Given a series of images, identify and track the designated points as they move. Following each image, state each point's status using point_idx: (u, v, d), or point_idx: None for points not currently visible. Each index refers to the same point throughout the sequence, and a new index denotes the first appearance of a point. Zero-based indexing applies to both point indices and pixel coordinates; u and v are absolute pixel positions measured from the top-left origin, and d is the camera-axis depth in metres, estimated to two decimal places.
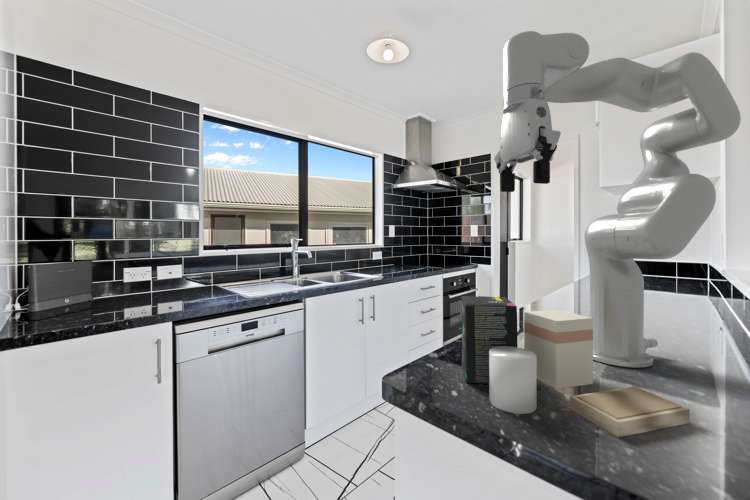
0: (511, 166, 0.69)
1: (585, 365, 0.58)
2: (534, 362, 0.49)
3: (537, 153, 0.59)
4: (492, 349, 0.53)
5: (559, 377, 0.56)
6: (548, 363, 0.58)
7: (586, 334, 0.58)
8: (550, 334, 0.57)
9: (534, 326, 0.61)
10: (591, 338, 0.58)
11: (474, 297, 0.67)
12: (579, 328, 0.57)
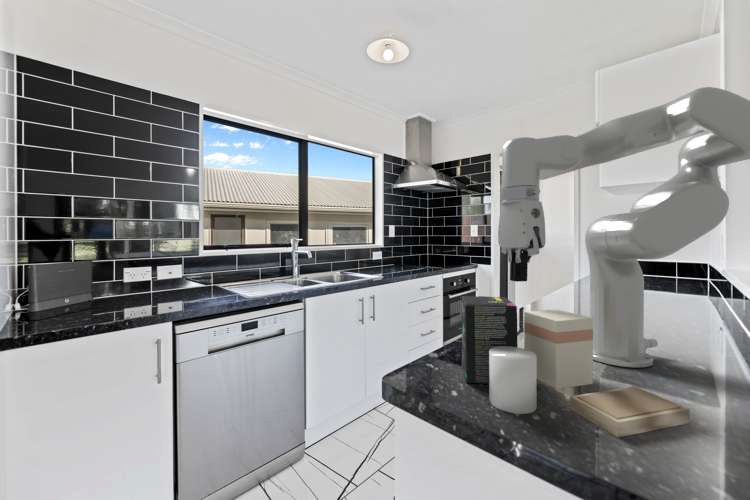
0: None
1: (585, 365, 0.58)
2: (534, 362, 0.49)
3: (518, 257, 0.68)
4: (492, 349, 0.53)
5: (559, 377, 0.56)
6: (548, 362, 0.58)
7: (585, 334, 0.58)
8: (550, 334, 0.57)
9: (534, 326, 0.61)
10: (591, 338, 0.58)
11: (474, 297, 0.67)
12: (579, 328, 0.57)
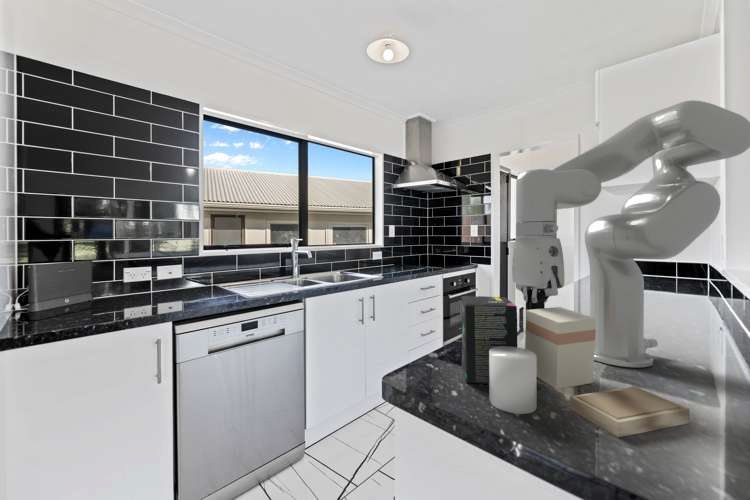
0: None
1: (586, 365, 0.57)
2: (534, 362, 0.49)
3: (535, 297, 0.64)
4: (492, 349, 0.53)
5: (559, 377, 0.56)
6: (549, 363, 0.58)
7: (588, 335, 0.57)
8: (552, 335, 0.56)
9: (535, 326, 0.60)
10: (593, 338, 0.57)
11: (474, 297, 0.67)
12: (582, 329, 0.56)
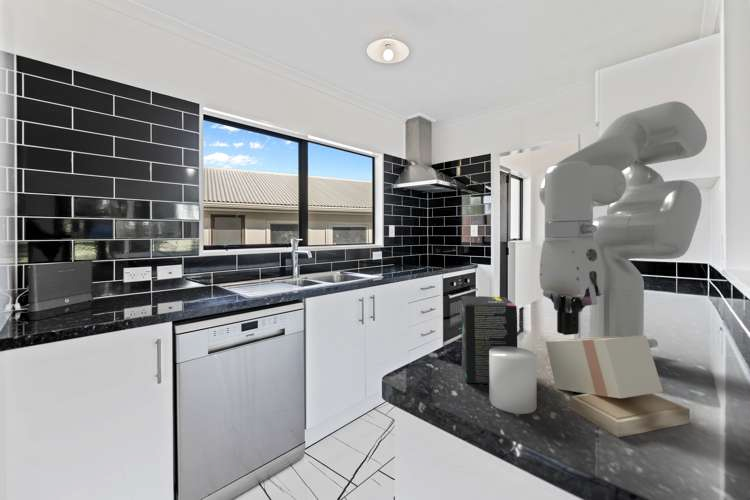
0: (566, 300, 0.60)
1: None
2: (534, 362, 0.49)
3: (569, 307, 0.57)
4: (492, 349, 0.53)
5: (568, 389, 0.55)
6: (571, 379, 0.53)
7: None
8: (601, 387, 0.48)
9: (595, 358, 0.49)
10: None
11: (474, 297, 0.67)
12: None
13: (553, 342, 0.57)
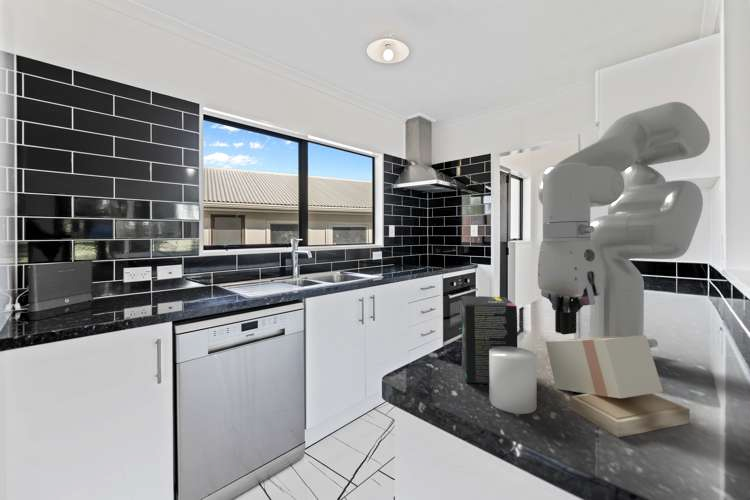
0: (563, 300, 0.60)
1: None
2: (534, 362, 0.49)
3: (567, 306, 0.57)
4: (492, 349, 0.53)
5: (568, 389, 0.55)
6: (571, 379, 0.53)
7: None
8: (601, 387, 0.48)
9: (595, 358, 0.49)
10: None
11: (474, 297, 0.67)
12: None
13: (553, 342, 0.57)
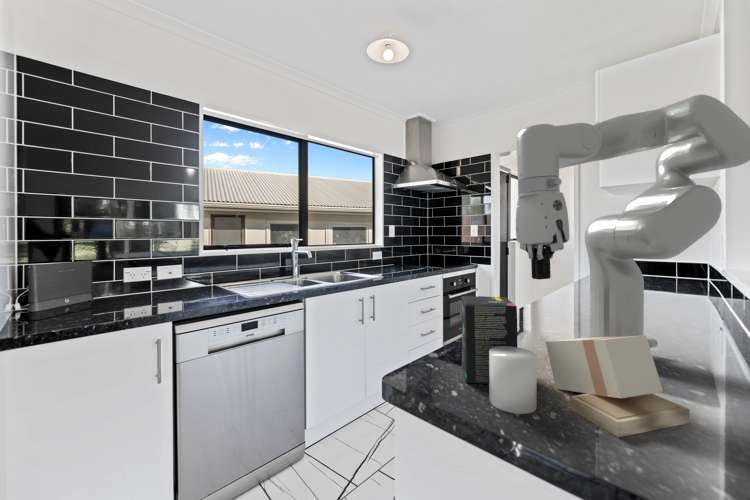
0: None
1: None
2: (534, 362, 0.49)
3: (540, 254, 0.64)
4: (492, 349, 0.53)
5: (568, 389, 0.55)
6: (571, 379, 0.53)
7: None
8: (601, 387, 0.48)
9: (595, 358, 0.49)
10: None
11: (474, 297, 0.67)
12: None
13: (553, 342, 0.57)
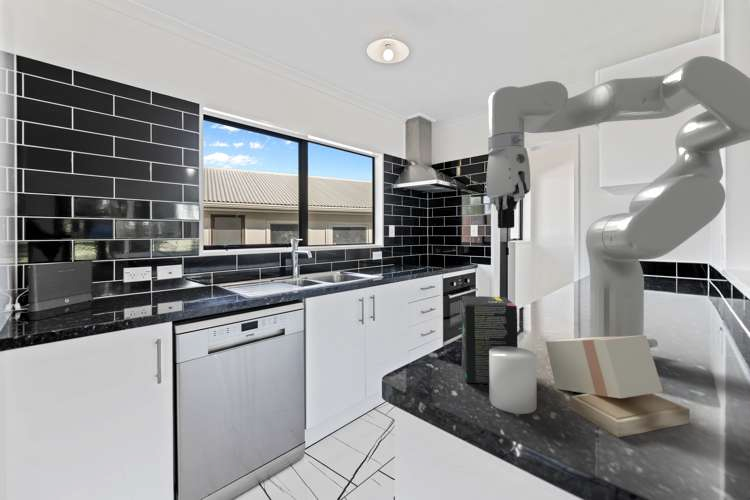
0: None
1: None
2: (534, 362, 0.49)
3: (505, 204, 0.71)
4: (492, 349, 0.53)
5: (568, 389, 0.55)
6: (571, 379, 0.53)
7: None
8: (601, 387, 0.48)
9: (595, 358, 0.49)
10: None
11: (474, 297, 0.67)
12: None
13: (553, 342, 0.57)
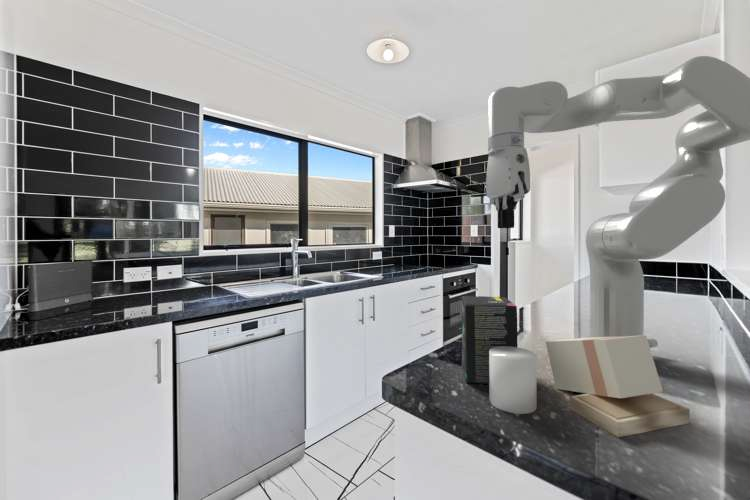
0: None
1: None
2: (534, 362, 0.49)
3: (505, 204, 0.71)
4: (492, 349, 0.53)
5: (568, 389, 0.55)
6: (571, 379, 0.53)
7: None
8: (601, 387, 0.48)
9: (595, 358, 0.49)
10: None
11: (474, 297, 0.67)
12: None
13: (553, 342, 0.57)
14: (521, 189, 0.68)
